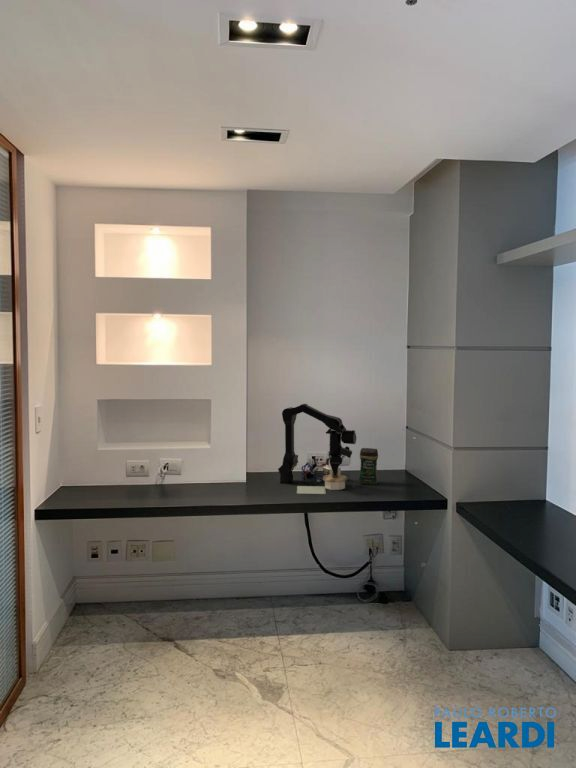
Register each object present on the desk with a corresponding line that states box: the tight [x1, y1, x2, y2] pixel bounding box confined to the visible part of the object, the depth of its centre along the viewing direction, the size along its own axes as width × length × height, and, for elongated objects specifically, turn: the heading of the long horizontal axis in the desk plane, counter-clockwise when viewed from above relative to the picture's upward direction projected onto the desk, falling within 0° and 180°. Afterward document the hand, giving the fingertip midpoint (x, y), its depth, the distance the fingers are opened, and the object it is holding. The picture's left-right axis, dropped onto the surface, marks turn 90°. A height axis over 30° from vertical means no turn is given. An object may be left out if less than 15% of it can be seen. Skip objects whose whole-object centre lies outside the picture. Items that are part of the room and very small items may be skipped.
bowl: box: [324, 481, 346, 491], centre depth 292 cm, size 10×10×4 cm
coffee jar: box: [358, 447, 379, 486], centre depth 302 cm, size 10×8×19 cm
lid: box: [322, 471, 348, 482], centre depth 292 cm, size 12×12×5 cm
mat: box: [296, 485, 327, 495], centre depth 287 cm, size 14×14×1 cm
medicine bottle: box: [322, 457, 342, 477], centre depth 308 cm, size 7×7×12 cm
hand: (334, 473), depth 292 cm, fingers open, 9 cm apart
